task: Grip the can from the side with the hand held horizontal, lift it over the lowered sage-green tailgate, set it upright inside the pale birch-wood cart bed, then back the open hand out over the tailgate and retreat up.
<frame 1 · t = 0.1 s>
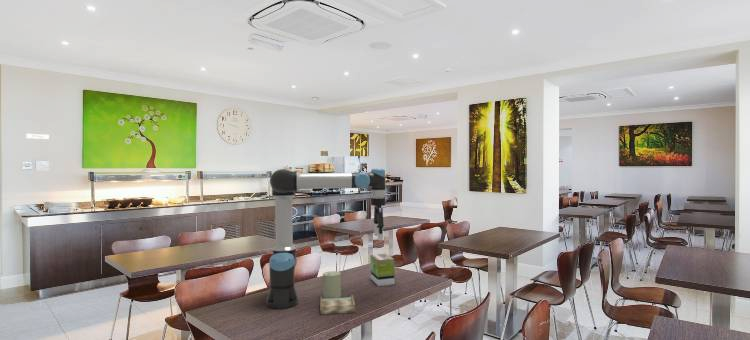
hand: (378, 237, 218), 28 cm above the table, tool pointing down, fingers open, 13 cm apart
tea box: (382, 282, 234), on the table
cart bed: (337, 307, 192), on the table
tailgate: (336, 300, 202), on the table
can: (332, 296, 210), on the table
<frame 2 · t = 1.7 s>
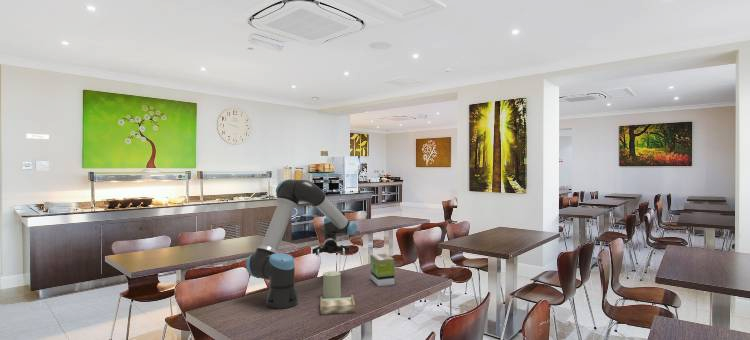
hand: (331, 253, 219), 20 cm above the table, tool horizontal, fingers open, 13 cm apart
nothing on the table moved.
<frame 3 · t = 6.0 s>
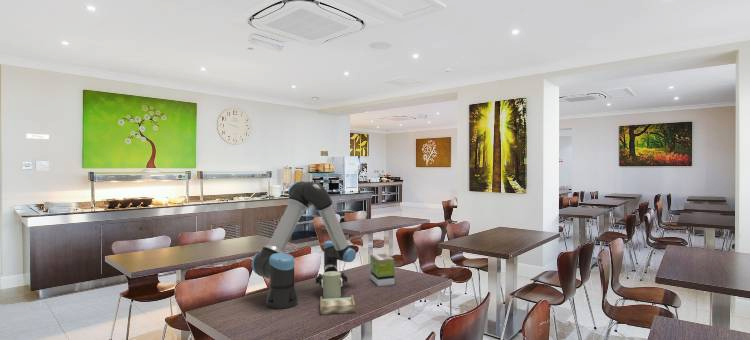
hand: (332, 284, 205), 7 cm above the table, tool horizontal, fingers closed on can, 9 cm apart
can: (332, 296, 210), on the table, touching gripper
everything else where it was.
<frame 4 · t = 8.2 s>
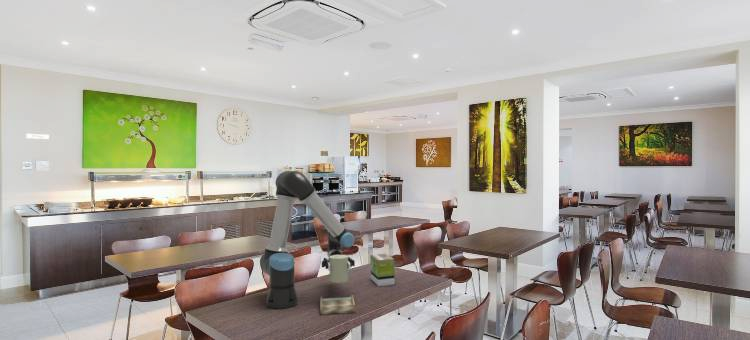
hand: (339, 267, 195), 18 cm above the table, tool horizontal, fingers closed on can, 9 cm apart
can: (338, 280, 199), point 11 cm above the table, touching gripper
everything else where it was.
when the fingers open (10 cm above the table, at t = 10.7 s): can drops 1 cm, resting on cart bed.
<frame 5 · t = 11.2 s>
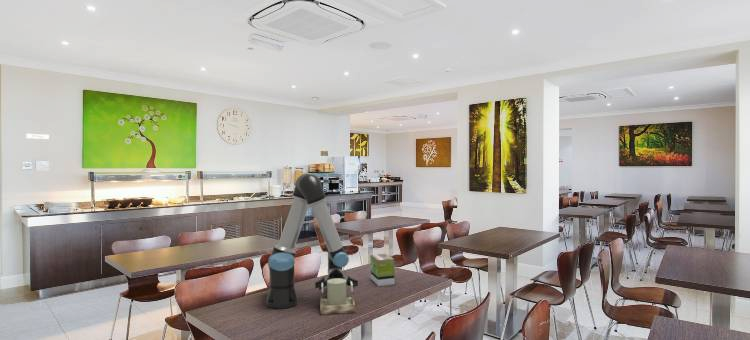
hand: (337, 289, 189), 10 cm above the table, tool horizontal, fingers open, 13 cm apart
can: (336, 305, 192), point 1 cm above the table, touching cart bed
everything else where it was.
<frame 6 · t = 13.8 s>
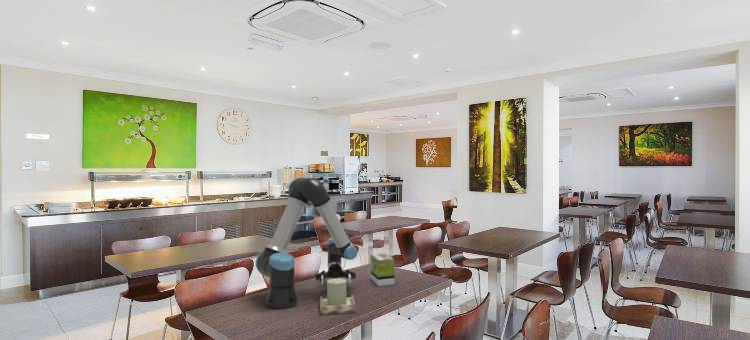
hand: (336, 280, 202), 10 cm above the table, tool horizontal, fingers open, 13 cm apart
nothing on the table moved.
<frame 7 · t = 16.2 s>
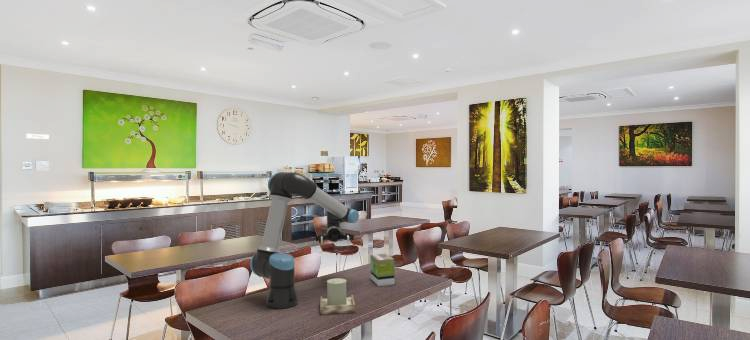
hand: (335, 240, 210), 28 cm above the table, tool horizontal, fingers open, 13 cm apart
nothing on the table moved.
at the end: can 0.2 cm off-centre on the cart bed, point 0.8 cm above the cart bed's base; can tilted 0°; the gripper is holding nothing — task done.
